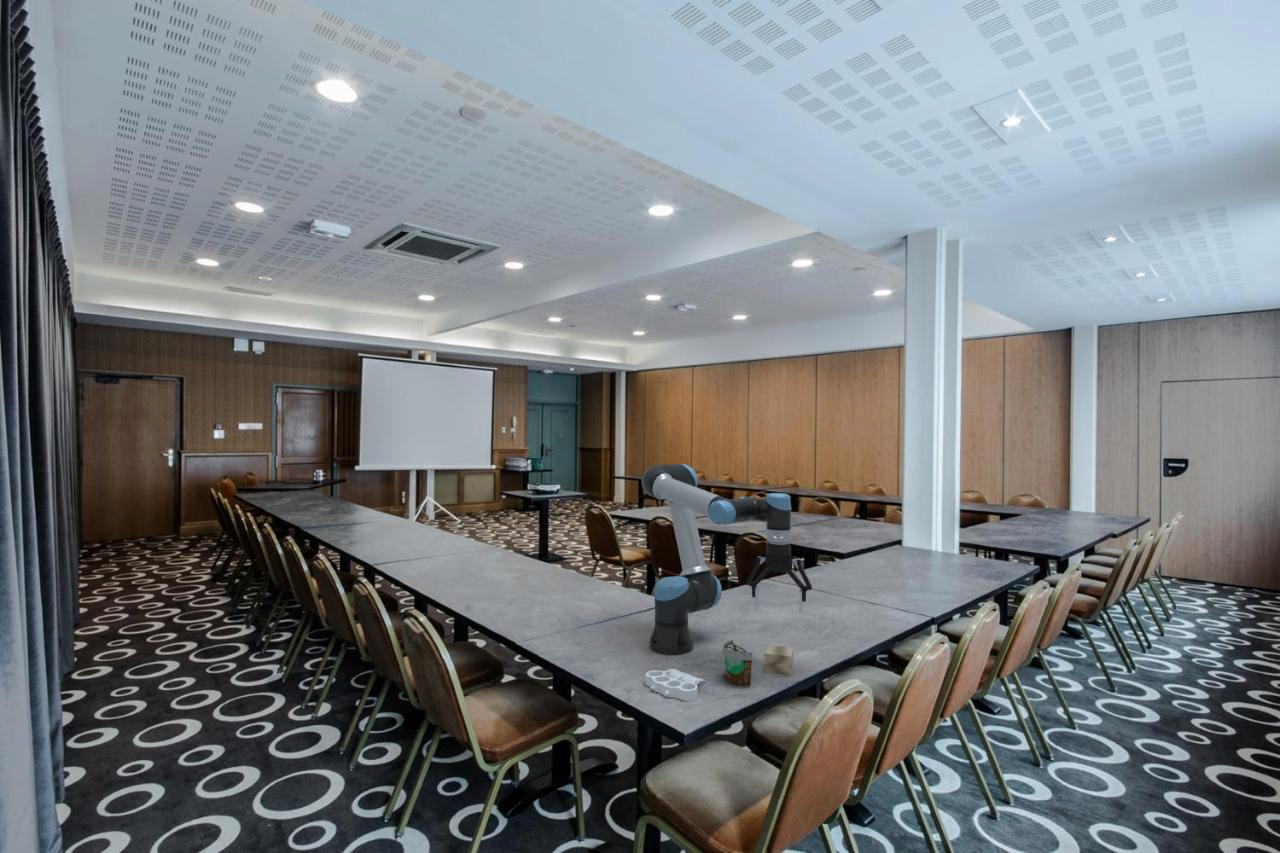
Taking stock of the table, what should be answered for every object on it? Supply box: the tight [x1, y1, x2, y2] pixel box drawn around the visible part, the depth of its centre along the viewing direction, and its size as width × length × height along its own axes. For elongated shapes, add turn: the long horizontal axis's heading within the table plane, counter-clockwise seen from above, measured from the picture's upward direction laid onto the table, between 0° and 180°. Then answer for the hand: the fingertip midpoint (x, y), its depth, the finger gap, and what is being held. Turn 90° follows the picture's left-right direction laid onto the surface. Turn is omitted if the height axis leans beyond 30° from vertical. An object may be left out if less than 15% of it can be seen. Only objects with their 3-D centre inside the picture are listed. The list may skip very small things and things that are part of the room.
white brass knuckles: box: [645, 668, 707, 702], centre depth 177 cm, size 3×18×15 cm
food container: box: [721, 639, 754, 687], centre depth 183 cm, size 12×6×10 cm, turn 21°
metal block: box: [764, 644, 794, 676], centre depth 192 cm, size 8×8×6 cm
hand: (778, 609), depth 193 cm, fingers open, 13 cm apart
